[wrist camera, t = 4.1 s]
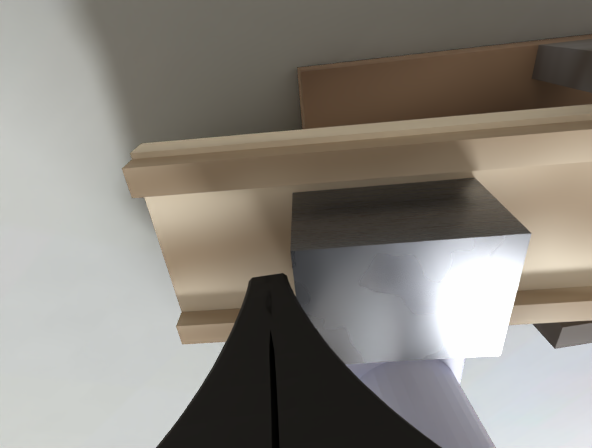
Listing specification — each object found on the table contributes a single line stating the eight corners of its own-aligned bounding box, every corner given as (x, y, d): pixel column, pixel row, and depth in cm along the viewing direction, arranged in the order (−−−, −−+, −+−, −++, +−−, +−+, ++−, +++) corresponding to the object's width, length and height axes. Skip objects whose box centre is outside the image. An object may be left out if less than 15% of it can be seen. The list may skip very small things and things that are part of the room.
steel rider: (458, 282, 15) (500, 355, 12) (303, 293, 15) (304, 366, 12) (474, 177, 12) (531, 233, 9) (292, 192, 13) (290, 250, 10)
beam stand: (665, 236, 21) (800, 309, 16) (315, 287, 20) (339, 383, 15) (770, 13, 16) (1028, 15, 11) (297, 67, 15) (325, 99, 9)
